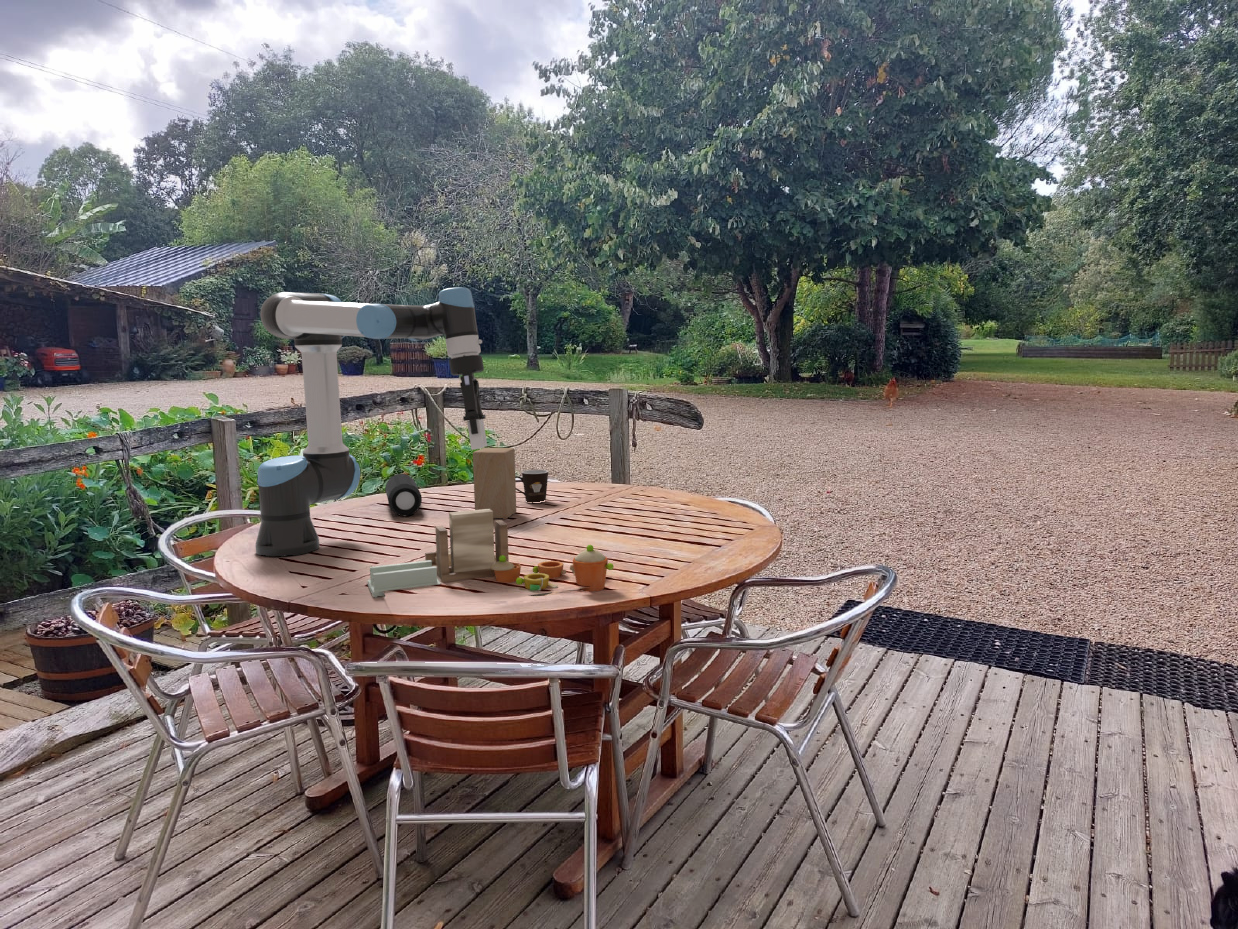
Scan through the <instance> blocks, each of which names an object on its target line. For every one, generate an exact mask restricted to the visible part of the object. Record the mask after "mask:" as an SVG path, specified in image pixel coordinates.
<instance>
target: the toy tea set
mask: <svg viewBox="0 0 1238 929" xmlns="http://www.w3.org/2000/svg"><path fill="white" fill-rule="evenodd" d="M608 559H609V558H608V557H607V556H605V554H603V553H602V552H600V551H599V550H596V549H594V546H593V545H592V544H588V545H587V546H586V549H585V550H583V551H580V552H579V553H578V554H577V555H576V556H574V557H573V558H572V564H571V565H570V566H569V570H570V571H571V572H572V573H573V576H575V583H576V585H578V586H581V587H582V588H581V587H580V588H578V590H579V591H581V592H585V593H586V592H587V593H590V592H592V593H593V592H594V593H595V592H599V591H602V590H603V589H605V587H606V586H605V585H606V578H607V570H609V571H611V570H614V564H613V563H612V562H609V563H608V561H609V560H608ZM491 569H492V570H494V571H495V576H494V577H495V580H496V582H499V583H506V584H507V583H509V584H510V583H516V585H519V586H521V585H523V584H524V587H525V589H527V590H529V591H541V590H545V589H548V587H549V588H551V589H558V585H557V584H555V583H551V582H550V579H557V578H561V577H562V576H563V575H564V574H567V570H566V569H564V562H561V561H557V560H556V561H555V560H546V561H542V562H539V563H538V564H537V566H534V567H532V572H533V573H529V574H525V575H523V578H522V577H521V569H522V565H521V564H520V563H517V562H511V561H506V557H505V556H504V555H502V556H500V557H499V561H498V562H496V563H494V564H493V565H492V566H491ZM550 594H552V592H551V591H549V592H543V593H536V594H530V595H529V594H528V596H529V597H543V596H547V595H550Z"/></svg>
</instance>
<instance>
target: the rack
mask: <svg viewBox="0 0 1238 929" xmlns="http://www.w3.org/2000/svg"><path fill="white" fill-rule="evenodd" d="M493 526H494V557H495V563H496V562H498V561H499V557H500V556H502V555H504V556H505V557H506V561H509V535H508V534H509V532H508V531H509V530H508V528H509V527H508V524H507V523H506V522H505V521H504V520H503V519H495V520H493ZM448 534H449V533H448V529H447V528H446V527H444V525H436V526H435V546H436V547H435V549H436V550H435V551H430V552H424V558H425V560H424V561H427V560H431V561H432V567H433V566H436V568H437V579H438V580H439V582H440V583H447V582H454V581H463V580H471V579H472V580H473V579H480V578H489V577H496V576H495V571H494V570H492V569H483V570H474V571H466V572H457V573H451V550H450V548H449V537H448V536H449V535H448ZM509 562H510V561H509Z"/></svg>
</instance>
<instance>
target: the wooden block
mask: <svg viewBox="0 0 1238 929" xmlns="http://www.w3.org/2000/svg"><path fill="white" fill-rule="evenodd" d="M515 454H516V453H515V448H514V447H484V448H481V449H476V450H475V451H473V452H472V465H473V466H472V467H473V469H472V470H473V471H472V472H473V492H474V493H473V494H474V495H473V496H474V498H473V499H474V510H482V509H490V510H492V511H493V518H503V519H502V520H507V519H509V518H510V517H512V516H513V515H515V514H516V513H517V490H516V488H517V487H516V484H517V483H516V482H517V481H516V478H515V476H516V456H515ZM512 514H513V515H512ZM511 515H512V516H511ZM508 517H509V518H508Z"/></svg>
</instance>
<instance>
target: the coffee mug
mask: <svg viewBox="0 0 1238 929" xmlns="http://www.w3.org/2000/svg"><path fill="white" fill-rule="evenodd" d="M521 476H522V477H521ZM521 476H519V475H515V479H519V480H520V481H521V482H522V485H523V490H524V491H522V490H520V489H519V488H517V487H516V492H517V491H518V492H519V493H520V494H523V495H524V498H525V502H526V501H527V502H540V501H544V500H547V490H548V480H549V479H548V478H549V470H546V469H528V470H527V469H526V470H523V471H521Z"/></svg>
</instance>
